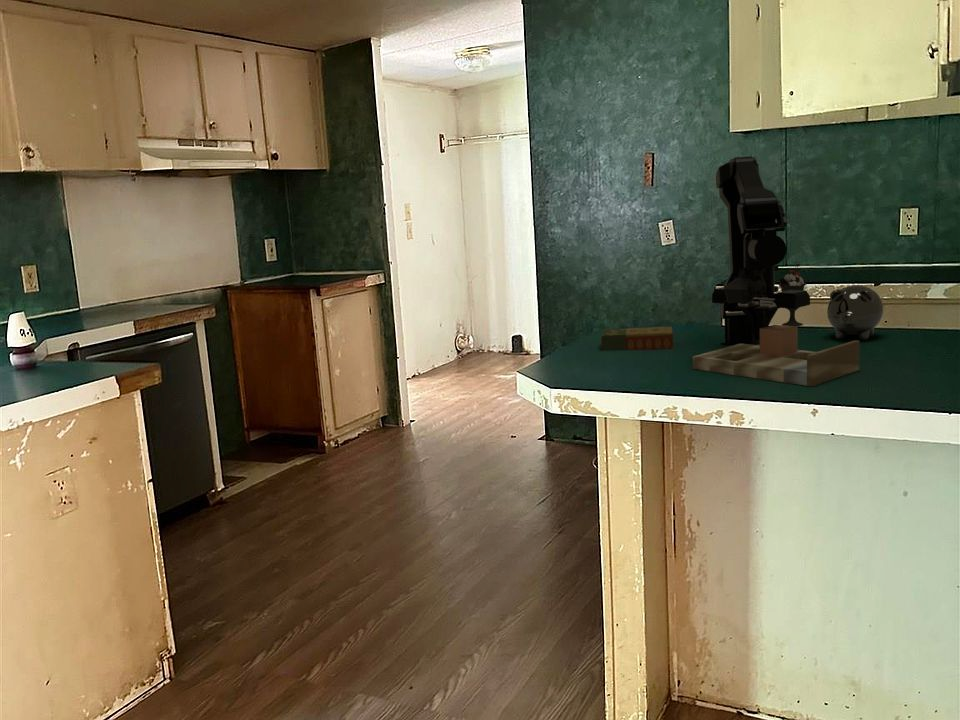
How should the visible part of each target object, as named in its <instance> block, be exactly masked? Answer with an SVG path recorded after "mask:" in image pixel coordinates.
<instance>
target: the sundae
mask: <svg viewBox="0 0 960 720" xmlns="http://www.w3.org/2000/svg"><path fill="white" fill-rule="evenodd" d="M799 266H800V263H796V266H795V267H794V269H792V270H789V272H788V273H787V274H785V276H782V277H781V278H779V279H778V281H779V283H778V284H777V285H778V287H780V288H781V289H780V290H781V291H780V292H783V291H787V290H804V291H805V287H806V286H807V285H808V283H806V282H805V280H804V279H803V278H802V277H801V272H799ZM795 269H797V272H795ZM785 309H786V310H788V311H789V319H788V321H786V322H784V323H782V324H781V325H784V326H795V327H802V326H804V323H802V322H799V321H797V320H796V311H797V310H798V309H799V308H793V309H789V308H785Z"/></svg>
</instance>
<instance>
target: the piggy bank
mask: <svg viewBox="0 0 960 720" xmlns="http://www.w3.org/2000/svg"><path fill="white" fill-rule="evenodd" d="M829 299H830V300H829V302H828V305H827V309H826V313H827V314H826V315H827V320H828V321H829V324H830V325H831V326H832V327H833V328H834V330H835V338H836V339H839V340H843V339H845V338H846V336H847V335H852V336H853V335H854V336H855V335H858V338H859V340H862V341H867V340H869V338H870V337H873V336H874V333H875V328H876V327H877V326H878V325H879V324H880V322H881V320H882V317H883V315H884V303H883V301H882V298H881V296H880V295H879V294H878V293H877V292H876V291H875V290H874V289H872V288H870V287H868V286H865V285H859V284H855V285H854V284H853V285H849V286H846V287H843V288H841V289H834V290H833V291H831V292H830V295H829Z"/></svg>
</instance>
